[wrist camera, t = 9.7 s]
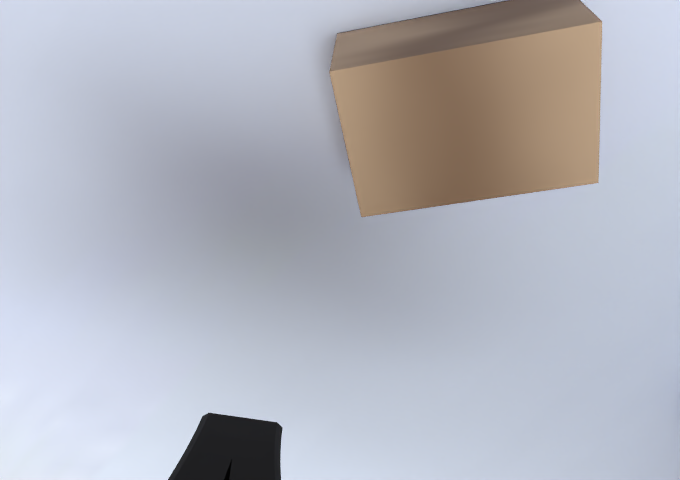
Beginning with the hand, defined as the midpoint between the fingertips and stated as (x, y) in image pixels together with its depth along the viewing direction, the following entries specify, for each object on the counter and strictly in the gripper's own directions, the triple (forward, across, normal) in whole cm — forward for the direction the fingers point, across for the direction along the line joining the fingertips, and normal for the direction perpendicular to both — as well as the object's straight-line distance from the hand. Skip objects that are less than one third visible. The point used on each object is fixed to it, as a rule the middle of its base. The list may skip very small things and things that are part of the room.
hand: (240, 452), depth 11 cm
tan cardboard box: (+10, -4, -4) cm, 11 cm away
